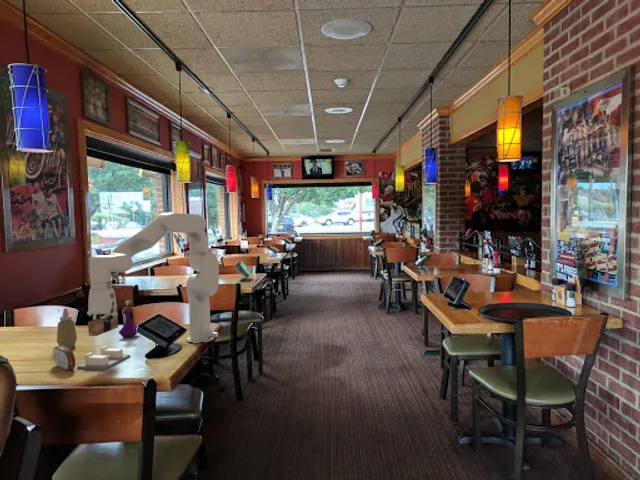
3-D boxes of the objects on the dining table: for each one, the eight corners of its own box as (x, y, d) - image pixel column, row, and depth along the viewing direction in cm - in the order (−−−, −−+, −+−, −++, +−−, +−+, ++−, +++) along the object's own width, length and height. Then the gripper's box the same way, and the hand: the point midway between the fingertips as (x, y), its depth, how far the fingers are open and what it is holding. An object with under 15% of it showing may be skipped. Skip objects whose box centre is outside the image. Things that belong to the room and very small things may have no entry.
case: (118, 327, 184) (117, 314, 183) (96, 336, 171) (95, 322, 170) (110, 327, 184) (110, 314, 184) (88, 335, 172) (88, 321, 171)
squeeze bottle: (68, 350, 195) (66, 310, 194) (52, 349, 197) (50, 310, 196) (81, 345, 203) (79, 307, 202) (66, 344, 205) (64, 306, 204)
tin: (76, 370, 169) (75, 349, 168) (67, 373, 167) (66, 351, 166) (61, 363, 178) (60, 342, 178) (52, 365, 176) (51, 344, 176)
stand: (130, 356, 185) (129, 345, 184) (104, 370, 169) (103, 357, 169) (105, 355, 187) (104, 344, 187) (77, 368, 171) (76, 356, 171)
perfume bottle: (133, 338, 212) (132, 302, 211) (118, 339, 212) (116, 302, 211) (140, 334, 220) (138, 299, 219) (125, 334, 220) (124, 299, 219)
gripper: (125, 284, 178) (127, 329, 179) (90, 284, 181) (91, 327, 182) (113, 287, 171) (115, 334, 172) (76, 287, 174) (78, 332, 175)
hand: (103, 330), depth 177 cm, fingers closed on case, 3 cm apart
